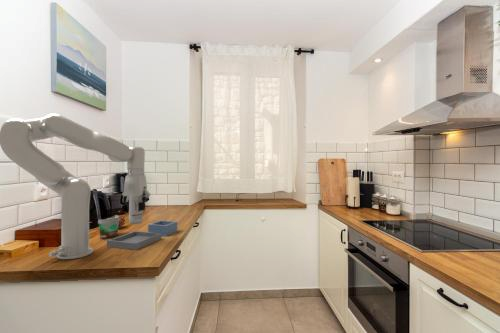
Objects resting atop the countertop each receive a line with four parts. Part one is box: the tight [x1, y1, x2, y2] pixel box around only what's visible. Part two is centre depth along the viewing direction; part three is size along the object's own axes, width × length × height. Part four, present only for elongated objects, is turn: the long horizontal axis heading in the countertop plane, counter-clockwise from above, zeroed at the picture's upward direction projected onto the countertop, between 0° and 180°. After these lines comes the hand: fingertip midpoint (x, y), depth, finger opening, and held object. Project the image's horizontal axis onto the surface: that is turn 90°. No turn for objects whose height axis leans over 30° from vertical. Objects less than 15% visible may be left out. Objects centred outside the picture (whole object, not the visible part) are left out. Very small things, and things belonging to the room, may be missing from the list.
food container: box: [97, 214, 120, 240], centre depth 132 cm, size 12×6×10 cm, turn 168°
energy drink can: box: [128, 196, 144, 225], centre depth 122 cm, size 6×6×15 cm
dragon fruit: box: [110, 214, 126, 230], centre depth 149 cm, size 8×8×12 cm
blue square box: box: [147, 220, 178, 237], centre depth 140 cm, size 11×11×6 cm
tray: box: [106, 230, 162, 251], centre depth 122 cm, size 18×16×3 cm
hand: (135, 209), depth 122 cm, fingers closed on energy drink can, 6 cm apart
